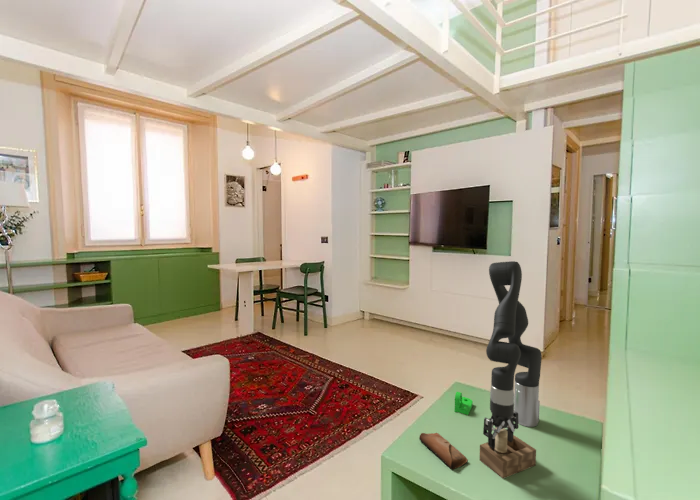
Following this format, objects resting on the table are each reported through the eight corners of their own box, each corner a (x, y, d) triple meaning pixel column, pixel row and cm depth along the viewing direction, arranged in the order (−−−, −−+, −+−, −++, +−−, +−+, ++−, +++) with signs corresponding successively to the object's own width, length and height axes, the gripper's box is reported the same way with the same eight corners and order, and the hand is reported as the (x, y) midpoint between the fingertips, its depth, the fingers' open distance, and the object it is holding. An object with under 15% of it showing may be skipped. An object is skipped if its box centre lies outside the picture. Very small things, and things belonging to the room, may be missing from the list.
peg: (499, 458, 118) (500, 425, 117) (509, 465, 114) (510, 432, 114) (491, 461, 116) (492, 428, 116) (500, 469, 113) (501, 435, 112)
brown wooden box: (511, 449, 125) (511, 433, 124) (535, 466, 115) (536, 449, 115) (479, 461, 118) (479, 444, 118) (502, 480, 109) (503, 462, 109)
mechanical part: (468, 415, 148) (468, 398, 147) (454, 411, 151) (454, 394, 150) (473, 403, 158) (474, 387, 157) (460, 400, 161) (461, 384, 161)
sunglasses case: (470, 459, 116) (461, 449, 114) (458, 476, 114) (449, 466, 112) (435, 431, 133) (427, 422, 130) (424, 446, 130) (416, 436, 128)
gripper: (507, 390, 120) (506, 433, 121) (478, 398, 114) (477, 443, 115) (525, 399, 113) (524, 445, 114) (495, 408, 108) (494, 456, 108)
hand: (500, 444), depth 115 cm, fingers open, 8 cm apart
